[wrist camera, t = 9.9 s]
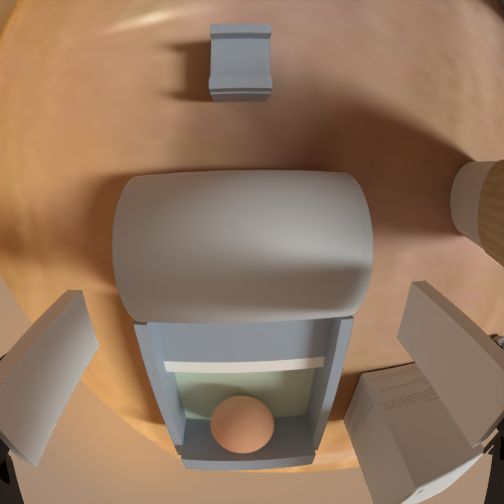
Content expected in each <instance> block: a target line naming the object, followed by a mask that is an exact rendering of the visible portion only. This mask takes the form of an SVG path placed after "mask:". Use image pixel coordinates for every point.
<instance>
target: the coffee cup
mask: <svg viewBox="0 0 504 504" xmlns="http://www.w3.org/2000/svg"><path fill="white" fill-rule="evenodd" d="M450 211H451V217H452V220H453V223H454V225H455V227H456V229H457V230H458V231H459V232H460V233H461V234H463V235H464V236H465V237H467V238H468V239H470V240H471V241H473V242H474V243H476V244H477V245H478V246H480V247H481V248H483V249H484V250H485V252H486V253H487V254H488V255H489V256H491V257H492V258H493V259H495V260H496V261H497V262H498V263H500V264H501V265H502V266H503V267H504V160H500V161H487V162H469V163H467V164H465V165H464V166H462V167H461V168H460V170H459V171H458V172H457V174H456V176H455V178H454V181H453V184H452V188H451V193H450Z"/></svg>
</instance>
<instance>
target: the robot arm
mask: <svg viewBox="0 0 504 504" xmlns="http://www.w3.org/2000/svg"><path fill="white" fill-rule="evenodd" d="M397 338H398V340H399V341H400V342H401V344H402V345H403V346H404V348H405V349H406V350H407V352H408V353H409V354H410V356H411V357H412V359H413V360H414V361H415V363H416V364H417V365H418V367H419V368H420V370H421V371H422V372H423V374H424V375H425V377H426V378H427V380H428V381H429V382H430V384H431V385H432V387H433V388H434V390H435V391H436V393H437V394H438V395H439V397H440V398H441V400H442V401H443V403H444V404H445V406H446V407H447V409H448V411H449V412H450V414H451V415H452V417H453V418H454V420H455V421H456V423H457V424H458V426H459V428H460V429H461V431H462V432H463V434H464V436H465V437H466V439H467V441H468V442H469V444H470V446H471V447H472V448H473V447H475V446H476V445H478V444H480V443H481V442H483V441H484V440H486V439H487V438H488V437H489V436H490V434H491V433H492V432H493V431H494V430H495V428H497V429H498V431H499V432H498V433H497V434H496V435H495V436H494V438H493V439H492V440H491V441H490V442H489V443H488V444H487V446H486V447H485V448H484V450H483V453H486V452H487V451H488V450H489V449H490V448H491V446H492V445H494V447H493V448H492V449H491V450H490V451H489V453H488V454H491V455H493V456H492V464H491V471H490V477H489V483H488V488H487V493H486V497H485V502H484V504H504V350H503V347H502V346H501V345H500V344H499V343H497V342H496V341H495V340H494V339H492V338H491V337H489V336H488V335H487V334H486V333H485V332H484V331H483V330H482V329H481V328H480V327H479V326H477V325H476V324H475V323H474V322H473V321H472V320H471V319H470V318H469V317H467V316H466V315H465V314H464V313H463V312H462V311H461V310H460V309H458V308H457V307H456V306H455V305H454V304H453V303H451V302H450V301H449V300H448V299H447V298H446V297H444V296H443V295H442V294H441V293H440V292H438V291H437V290H436V289H435V288H434V287H432V286H431V285H430V284H429V283H427V282H426V281H417V282H411V287H410V291H409V295H408V299H407V303H406V307H405V310H404V314H403V318H402V321H401V325H400V328H399V331H398V335H397ZM98 348H99V344H98V341H97V338H96V335H95V332H94V329H93V326H92V323H91V320H90V317H89V314H88V310H87V307H86V303H85V300H84V296H83V292H82V290H67V291H66V292H65V293H64V294H63V295H62V296H61V297H60V298H59V299H58V300H56V301H55V302H54V303H53V304H52V305H51V306H50V307H49V308H48V309H47V310H46V311H45V312H44V314H43V315H42V316H41V317H40V318H39V319H38V320H37V321H36V322H35V323H34V324H33V325H32V326H31V327H30V328H29V329H28V330H27V331H26V333H25V334H24V335H23V336H22V337H21V338H20V339H19V340H18V341H17V343H16V344H15V345H14V346H13V347H12V348H11V349H10V350H9V352H8V353H6V354H5V355H4V356H2V357H1V358H0V504H24V502H23V499H22V495H21V493H20V489H19V485H18V482H17V478H16V474H15V470H14V465H13V461H12V459H11V457H10V456H9V455H8V452H9V450H11V451H12V452H13V453H14V454H15V455H16V456H17V457H18V458H19V459H20V460H23V461H24V462H26V463H28V464H30V465H32V466H34V467H37V464H38V462H39V460H40V457H41V456H42V453H43V451H44V449H45V447H46V445H47V442H48V440H49V438H50V436H51V434H52V432H53V430H54V428H55V426H56V424H57V422H58V419H59V418H60V416H61V414H62V412H63V410H64V408H65V406H66V404H67V402H68V400H69V398H70V397H71V395H72V393H73V391H74V389H75V387H76V385H77V384H78V382H79V380H80V378H81V377H82V375H83V373H84V371H85V370H86V368H87V366H88V364H89V363H90V361H91V359H92V358H93V356H94V354H95V353H96V351H97V349H98Z"/></svg>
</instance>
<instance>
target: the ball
mask: <svg viewBox="0 0 504 504" xmlns="http://www.w3.org/2000/svg"><path fill="white" fill-rule="evenodd" d="M210 427H211V432H212V435H213V436H214V438H215V440H216V441H217V442H218V443H219V444H220V445H221V446H222V447H223V448H225V449H227V450H229V451H232V452H235V453H250V452H254V451H256V450H258V449H260V448H262V447H263V446H264V445H265V444H266V443H267V442H268V441H269V440H270V438H271V436H272V434H273V430H274V419H273V416H272V413H271V411H270V410H269V408H268V407H267V406H266V405H265V404H264V403H263V402H261V401H260V400H258V399H256V398H254V397H250V396H243V395H241V396H234V397H230V398H228V399H226V400H224V401H222V402H221V403H220V404H219V405H218V406H217V407H216V408H215V410H214V412H213V414H212V416H211V422H210Z"/></svg>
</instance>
